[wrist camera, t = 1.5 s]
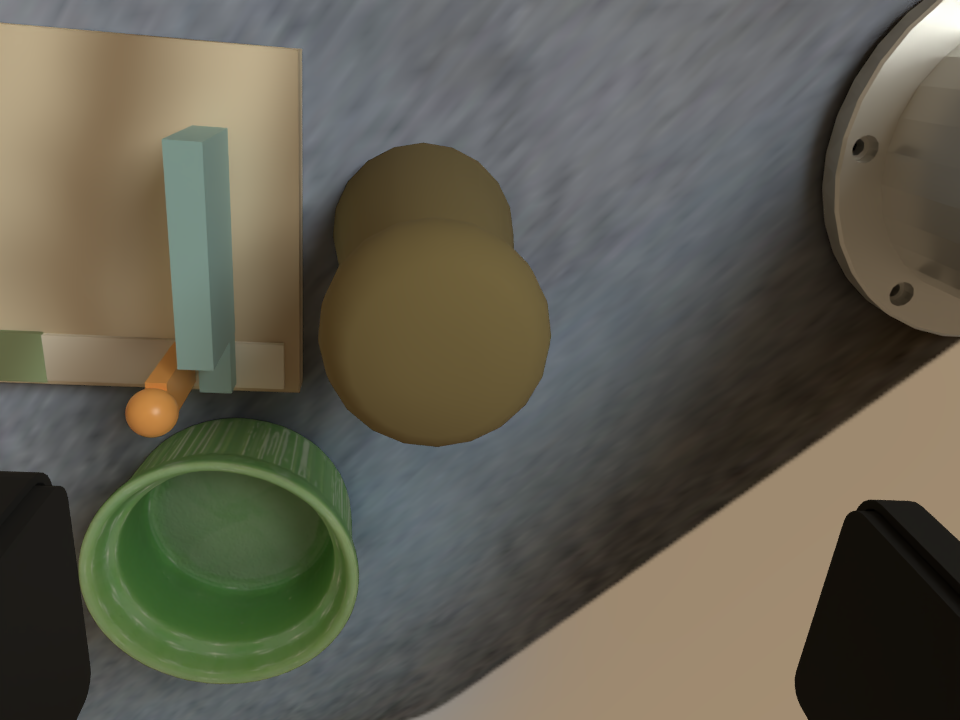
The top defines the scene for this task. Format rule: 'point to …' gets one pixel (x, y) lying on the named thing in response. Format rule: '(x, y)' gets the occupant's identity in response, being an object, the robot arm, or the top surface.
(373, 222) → the cork
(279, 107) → the stand
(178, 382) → the ball-ended orange rod
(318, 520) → the ramekin
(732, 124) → the top surface
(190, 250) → the pad
